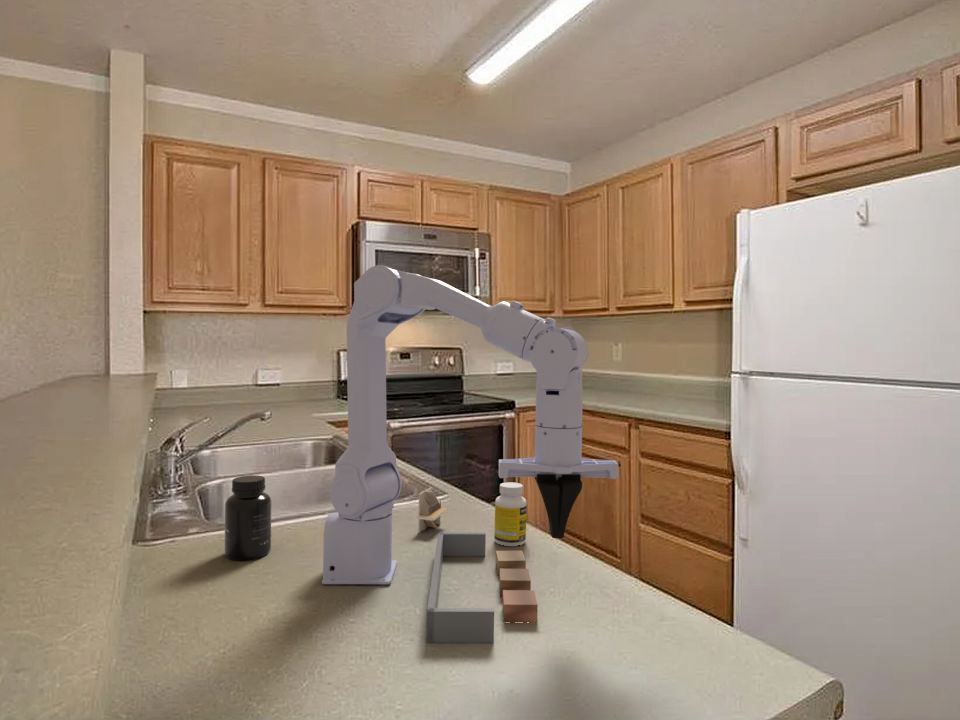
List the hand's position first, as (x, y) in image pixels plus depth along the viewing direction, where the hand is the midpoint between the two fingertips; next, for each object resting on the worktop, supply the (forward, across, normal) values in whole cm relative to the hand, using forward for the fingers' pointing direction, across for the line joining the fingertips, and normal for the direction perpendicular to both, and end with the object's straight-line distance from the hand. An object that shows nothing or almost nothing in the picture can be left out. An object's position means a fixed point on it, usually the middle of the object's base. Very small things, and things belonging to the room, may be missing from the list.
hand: (556, 535), depth 69 cm
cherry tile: (+10, -4, 0) cm, 11 cm away
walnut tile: (+10, -4, +7) cm, 13 cm away
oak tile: (+10, -4, +14) cm, 18 cm away
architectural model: (+11, -18, +33) cm, 39 cm away
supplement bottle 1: (+10, -46, +20) cm, 51 cm away
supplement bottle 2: (+10, -4, +26) cm, 29 cm away
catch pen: (+10, -12, +7) cm, 17 cm away
